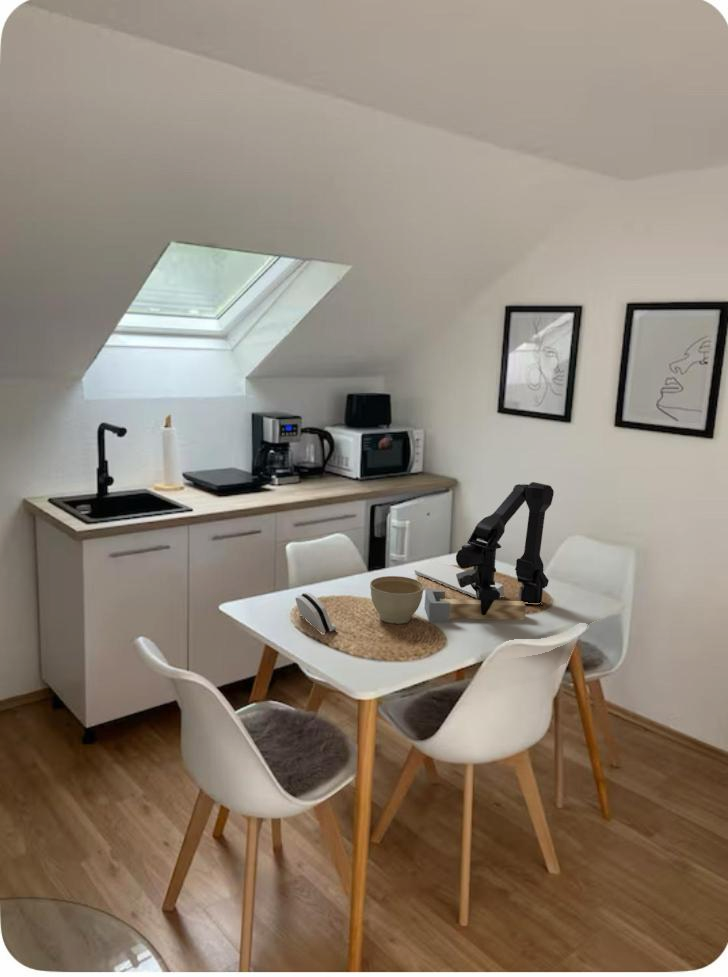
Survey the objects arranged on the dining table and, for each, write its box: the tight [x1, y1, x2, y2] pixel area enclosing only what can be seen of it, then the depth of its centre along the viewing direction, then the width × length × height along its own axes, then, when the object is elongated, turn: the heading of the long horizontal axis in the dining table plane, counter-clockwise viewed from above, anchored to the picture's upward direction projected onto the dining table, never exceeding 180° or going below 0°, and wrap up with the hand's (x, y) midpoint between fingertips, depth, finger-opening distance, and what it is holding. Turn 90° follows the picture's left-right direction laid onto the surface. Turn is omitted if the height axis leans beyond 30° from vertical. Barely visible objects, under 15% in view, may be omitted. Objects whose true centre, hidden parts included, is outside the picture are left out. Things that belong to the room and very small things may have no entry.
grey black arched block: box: [295, 591, 338, 633], centre depth 219 cm, size 17×5×10 cm, turn 27°
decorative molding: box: [413, 558, 505, 598], centre depth 261 cm, size 34×5×10 cm
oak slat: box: [439, 598, 527, 620], centre depth 231 cm, size 26×4×5 cm, turn 92°
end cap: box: [424, 589, 450, 623], centre depth 231 cm, size 6×12×6 cm, turn 2°
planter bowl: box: [369, 575, 425, 625], centre depth 226 cm, size 16×16×11 cm
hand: (481, 611), depth 232 cm, fingers open, 5 cm apart
